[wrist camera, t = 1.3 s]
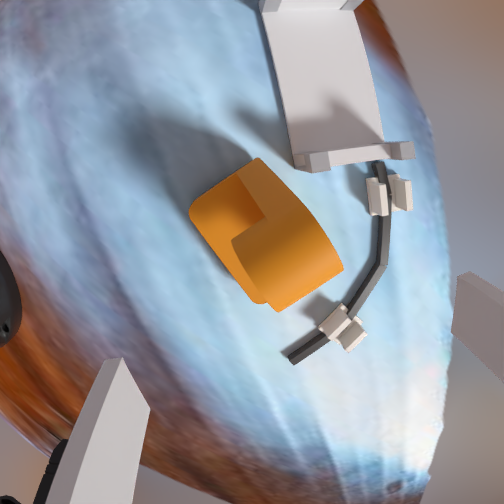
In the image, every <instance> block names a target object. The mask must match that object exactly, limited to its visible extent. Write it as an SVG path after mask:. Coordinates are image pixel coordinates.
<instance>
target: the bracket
mask: <svg viewBox="0 0 504 504" xmlns="http://www.w3.org/2000/svg"><path fill="white" fill-rule="evenodd" d="M189 217H190V219H191V221H192V222H193V223H194V225H195V226H196V228H197V229H198V230H199V232H200V233H201V234H202V236H203V237H204V238H205V240H206V241H207V242H208V244H209V245H210V246H211V248H212V249H213V250H214V252H215V253H216V254H217V256H218V257H219V258H220V260H221V261H222V262H223V264H224V265H225V266H226V268H227V269H228V270H229V272H230V273H231V274H232V276H233V277H234V278H235V280H236V281H237V282H238V283H239V285H240V286H241V287H242V289H243V290H244V291H245V293H246V294H247V295H248V297H249V298H250V299H251V300H252V301H253V302H254V303H256V304H264V303H268V304H269V305H270V306H271V307H272V308H273V309H274V310H275V311H276V312H280V311H282V310H284V309H285V308H287V307H288V306H290V305H292V304H293V303H295V302H296V301H298V300H299V299H301V298H302V297H304V296H306V295H307V294H309V293H310V292H312V291H313V290H315V289H316V288H318V287H319V286H321V285H322V284H324V283H325V282H327V281H328V280H330V279H331V278H333V277H334V276H336V275H337V274H339V273H340V272H342V271H343V270H344V268H343V265H342V262H341V260H340V258H339V256H338V254H337V252H336V250H335V249H334V247H333V245H332V243H331V242H330V240H329V238H328V237H327V235H326V234H325V232H324V231H323V229H322V228H321V226H320V225H319V223H318V222H317V220H316V219H315V218H314V216H313V215H312V214H311V212H310V211H309V210H308V209H307V207H306V206H305V205H304V204H303V203H302V202H301V201H300V199H299V198H298V197H297V196H296V195H295V194H294V193H293V192H292V191H291V190H290V189H289V188H288V187H287V186H286V185H285V184H284V183H283V182H282V181H281V179H280V178H279V177H278V176H277V175H276V174H275V173H274V172H273V171H272V170H271V169H270V168H269V167H268V166H267V165H266V164H265V163H264V162H263V161H262V160H261V159H260V158H255V159H254V160H252V161H251V162H249V163H248V164H246V165H245V166H243V167H242V168H240V169H239V170H237V171H236V172H234V173H233V174H231V175H230V176H228V177H227V178H225V179H224V180H222V181H221V182H220V183H218V184H217V185H215V186H214V187H212V188H211V189H209V190H208V191H207V192H205V193H204V194H202V195H201V196H200V197H198V198H197V199H195V200H194V201H193V203H192V204H191V206H190V208H189Z"/></svg>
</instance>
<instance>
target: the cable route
mask: <svg viewBox="0 0 504 504" xmlns="http://www.w3.org/2000/svg"><path fill="white" fill-rule="evenodd" d="M372 167H373V171H374V174H375V177H371V178H366V185H367V193H368V202H369V212H370V215H371V216H374V215H379V230H378V247H377V260H376V263H375V265H374V266H373V268H372V269H371V271H370V273H369V274H368V276H367V277H366V279H365V281H364V282H363V284H362V285H361V287H360V288H359V290H358V292H357V293H356V295H355V296H354V298H353V299H352V301H351V302H350V304H349V305H348V307H346V306H345V305H343V304H342V303H341V304H340V305H339V306H338V307H337V308H336V309H335V310H334V311H333V312H332V313H331V314H330V315H329V316H328V317H327V318H326V319H325V320H324V321H323V322H322V323H321V324H320V325H319V326H318V329H319V330H320V331H322V333H321V334H319V335H318V336H316V337H315V338H314V339H312V340H311V341H309V342H308V343H306V344H305V345H304V346H302V347H301V348H299V349H298V350H296V351H295V352H293V353H292V354H290V355H289V356H288V358H289V361H290V362H291V363H292V364H293V365H295V364H297V363H299V362H300V361H302V360H303V359H305V358H306V357H307V356H309V355H310V354H312V353H313V352H315V351H316V350H318V349H319V348H321V347H322V346H323V345H325V344H326V343H328V342H329V341H333V340H334V341H335V342H337V343H338V344H339V345H340V344H341V345H342V346H343V348H344V350H345V351H347V352H348V353H349V352H350V351H351V350H352V349H353V348H354V347H355V346H356V345H358V344H359V343H360V342H361V341H362V340H363V339H364V338H365V337H366V336H367V335H368V334H367V333H366V331H365V330H364V329H363V327H362V326H361V324H362V323H363V321H362V320H361V319H360V318H359V317H357V316H356V314H357V312H358V311H359V310H360V308H361V307H362V305H363V304H364V302H365V301H366V299H367V298H368V296H369V295H370V293H371V291H372V290H373V288H374V287H375V285H376V284H377V282H378V281H379V279H380V277H381V276H382V274H383V273H384V271H385V269H386V268H387V267H386V266H385V265H388V256H389V243H390V229H391V212H394V211H399V210H402V209H403V210H405V211H411V210H413V201H412V188H411V180H406V179H401V178H400V176H399V174H391V175H387V172H386V168H385V165H384V162H382V161H378V162H375V163H372Z"/></svg>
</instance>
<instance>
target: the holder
mask: <svg viewBox="0 0 504 504" xmlns="http://www.w3.org/2000/svg"><path fill="white" fill-rule="evenodd" d="M363 1H364V0H259V2H258V5H259V9H260V13H261V17H262V20H263V24H264V28H265V32H266V36H267V40H268V44H269V48H270V52H271V56H272V61H273V65H274V69H275V73H276V78H277V82H278V87H279V91H280V96H281V100H282V105H283V110H284V115H285V119H286V124H287V129H288V134H289V140H290V145H291V150H292V155H293V161H294V166H295V169H296V170H300V171H305V172H309V173H317V172H323V171H329V170H331V168H330V167H332V166H338V165H345V164H351V163H358V162H366V161H373V160H381V159H395V160H408V159H416V158H415V150H414V142H384V136H383V130H382V124H381V119H380V113H379V108H378V103H377V98H376V93H375V89H374V84H373V80H372V76H371V72H370V67H369V63H368V60H367V56H366V52H365V48H364V45H363V41H362V38H361V34H360V31H359V28H358V24H357V21H356V18H355V15H354V12H353V10H354V9H355V8H356V7H357V6H359V5H360V4H361V3H362V2H363Z"/></svg>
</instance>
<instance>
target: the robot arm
mask: <svg viewBox="0 0 504 504" xmlns="http://www.w3.org/2000/svg"><path fill="white" fill-rule="evenodd" d="M456 289H457V290H456V298H455V306H454V314H453V321H452V327H451V333H452V334H453V335H454V336H455V337H457V338H458V339H459V340H460V341H461V342H462V343H463V344H464V345H465V346H466V347H467V348H468V349H469V350H470V351H471V352H472V353H473V354H475V355H476V356H477V357H478V358H479V359H480V360H481V361H482V362H483V363H484V364H485V365H486V366H487V367H488V368H489V369H490V370H491V371H492V372H493V373H494V374H495V375H496V376H497V377H498V378H499V379H500V380H501V381H502V382H503V383H504V292H503V291H501V290H500V289H498V288H497V287H495V286H493V285H492V284H490V283H489V282H487V281H485V280H483V279H482V278H480V277H479V276H477V275H475V274H474V273H472V272H467V273H464V274H462V275H459V276H458V277H457V288H456ZM21 318H22V306H21V299H20V294H19V290H18V287H17V283H16V281H15V278H14V275H13V273H12V271H11V269H10V267H9V265H8V263H7V261H6V260H5V258H4V256H3V255H2V253H1V252H0V348H1V347H3V346H4V345H6V344H7V343H8V342H9V341H10V340H11V339H12V338H13V336H14V335H15V334H16V333H17V332H18V330H19V327H20V324H21ZM149 413H150V408H149V406H148V404H147V402H146V401H145V399H144V397H143V396H142V394H141V392H140V390H139V388H138V387H137V385H136V383H135V381H134V379H133V377H132V375H131V374H130V372H129V370H128V368H127V366H126V364H125V362H124V360H123V358H115V359H106V360H105V361H104V363H103V365H102V367H101V369H100V371H99V373H98V375H97V377H96V379H95V381H94V384H93V386H92V388H91V390H90V392H89V394H88V397H87V399H86V401H85V403H84V405H83V408H82V410H81V412H80V415H79V417H78V419H77V422H76V424H75V426H74V429H73V431H72V433H71V436H70V438H69V439H62V441H61V442H60V443H59V444H58V445H57V446H56V448H55V449H54V450H53V453H52V455H51V457H50V460H49V464H48V465H47V467H46V471H45V474H44V475H43V478H42V480H41V483H40V485H39V488H38V491H37V494H36V497H35V499H34V502H33V504H132V499H133V493H134V488H135V481H136V476H137V471H138V466H139V461H140V455H141V450H142V445H143V441H144V436H145V431H146V426H147V422H148V417H149ZM0 504H21V503H20V502H18V501H17V500H16V499H15V498H13V497H11V496H7V495H6V496H1V497H0Z"/></svg>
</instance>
